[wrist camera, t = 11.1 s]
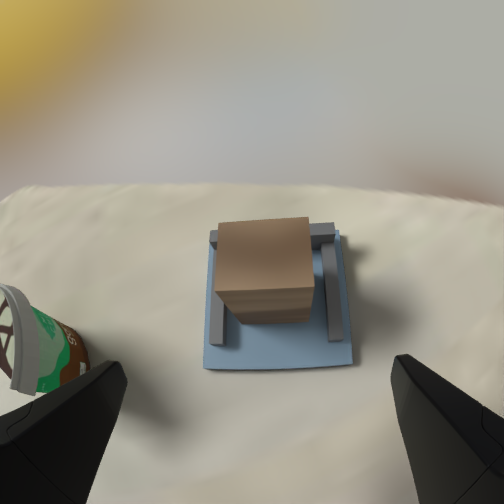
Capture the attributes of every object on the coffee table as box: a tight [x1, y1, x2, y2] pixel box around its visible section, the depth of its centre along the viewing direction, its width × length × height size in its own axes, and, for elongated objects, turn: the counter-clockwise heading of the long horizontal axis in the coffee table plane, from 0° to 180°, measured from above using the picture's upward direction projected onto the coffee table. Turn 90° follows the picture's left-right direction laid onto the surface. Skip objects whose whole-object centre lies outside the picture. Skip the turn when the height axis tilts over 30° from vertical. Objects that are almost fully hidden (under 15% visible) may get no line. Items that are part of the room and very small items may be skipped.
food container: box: [0, 284, 90, 396], centre depth 20 cm, size 12×6×10 cm, turn 71°
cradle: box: [203, 222, 353, 370], centre depth 22 cm, size 11×11×3 cm
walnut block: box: [214, 217, 315, 324], centre depth 19 cm, size 4×5×8 cm
